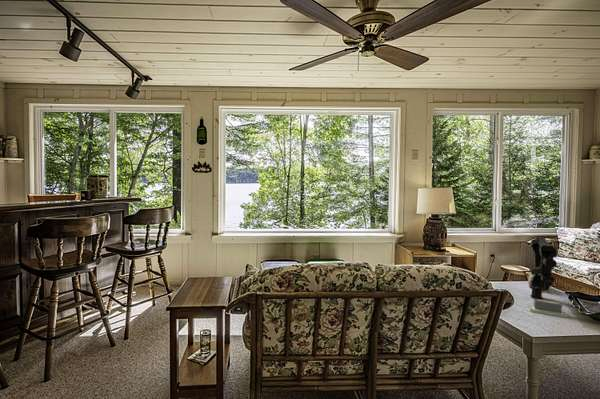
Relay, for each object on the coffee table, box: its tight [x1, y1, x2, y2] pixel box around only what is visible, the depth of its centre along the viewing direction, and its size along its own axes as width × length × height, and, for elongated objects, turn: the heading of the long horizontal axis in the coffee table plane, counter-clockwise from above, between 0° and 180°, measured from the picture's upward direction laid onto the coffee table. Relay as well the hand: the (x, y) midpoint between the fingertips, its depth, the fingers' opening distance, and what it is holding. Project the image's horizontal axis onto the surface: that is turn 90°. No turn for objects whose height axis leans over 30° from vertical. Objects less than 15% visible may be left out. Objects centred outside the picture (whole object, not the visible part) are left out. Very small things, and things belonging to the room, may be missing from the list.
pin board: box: [527, 304, 568, 319], centre depth 198 cm, size 9×18×4 cm, turn 62°
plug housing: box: [533, 298, 563, 313], centre depth 198 cm, size 5×13×5 cm, turn 62°
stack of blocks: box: [527, 272, 550, 294], centre depth 247 cm, size 21×6×12 cm, turn 163°
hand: (544, 288), depth 207 cm, fingers open, 9 cm apart
